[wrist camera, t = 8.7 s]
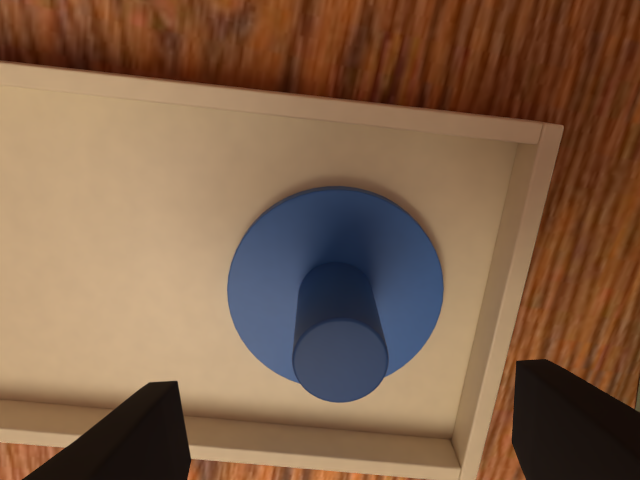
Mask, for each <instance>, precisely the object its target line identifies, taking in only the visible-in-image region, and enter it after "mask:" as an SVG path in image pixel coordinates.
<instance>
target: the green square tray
mask: <svg viewBox="0 0 640 480" xmlns="http://www.w3.org/2000/svg"><path fill="white" fill-rule="evenodd" d="M635 410H637V411H638V412H640V380H639V387H638V394H637V400H636V407H635Z"/></svg>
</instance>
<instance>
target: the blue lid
mask: <svg viewBox="0 0 640 480" xmlns="http://www.w3.org/2000/svg"><path fill="white" fill-rule="evenodd" d="M443 291H444V286H443V274H442V269H441V264H440V261H439V258H438V255H437V253H436V250H435V248H434V246H433V244H432V242H431V241H430V239H429V237H428V236H427V234H426V233H425V232H424V230H423V229H422V228H421V226H420V225H419V223H418V222H417V221H416V220H415V219H414V218H413V217H412V216H411V215H410V214H409V213H408V212H407V211H405V210H404V209H403V208H401V207H400V206H399V205H398V204H396V203H394V202H393V201H391V200H389V199H387V198H386V197H383V196H381V195H379V194H376V193H374V192H371V191H367V190H363V189H360V188H354V187H346V186H325V187H318V188H312V189H308V190H305V191H301V192H298V193H296V194H293V195H291V196H288V197H286V198H284V199H283V200H281V201H279V202H277V203H276V204H274V205H273V206H271V207H270V208H269V209H267V210H266V211H265V212H263V213H262V214H261V215H260V216H259V217H258V218H257V219H256V220H255V221H254V222H253V224H252V225H251V226H250V228H249V229H248V230H247V232H246V233H245V234H244V236H243V238H242V240H241V242H240V243H239V245H238V247H237V249H236V251H235V254H234V257H233V259H232V262H231V266H230V270H229V274H228V284H227V296H228V305H229V310H230V315H231V318H232V320H233V323H234V326H235V328H236V330H237V332H238V334H239V336H240V338H241V339H242V341H243V342H244V344H245V345H246V347H247V348H248V349H249V350H250V352H251V353H252V354H253V355H254V356H255V357H256V358H257V359H258V360H259V361H260V362H261V363H263V364H264V365H265V366H266V367H267V368H269V369H271V370H272V371H274V372H275V373H277V374H278V375H280V376H282V377H284V378H286V379H288V380H291V381H294V382H296V383H299V384H301V385H302V386H303V388H304V389H305V390H306V391H308V392H309V393H310V394H312V395H313V396H315V397H317V398H319V399H322V400H324V401H329V402H335V403H345V402H351V401H355V400H358V399H361V398H363V397H365V396H367V395H368V394H370V393H371V392H372V391H374V390H375V389H376V388H377V387H378V386H379V385H380V383H381V382H382V380H383V378H385V377H387V376H389V375H391V374H392V373H394V372H395V371H397V370H399V369H400V368H402V367H403V366H404V365H405V364H407V363H408V362H409V361H410V360H411V359H413V357H414V356H415V355H416V354H417V353H418V352H419V351H420V350H421V349H422V347H423V346H424V345H425V343H426V342H427V340H428V339H429V337H430V336H431V334H432V332H433V330H434V328H435V326H436V323H437V321H438V318H439V315H440V311H441V307H442V302H443Z"/></svg>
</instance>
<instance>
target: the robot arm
mask: <svg viewBox="0 0 640 480" xmlns="http://www.w3.org/2000/svg"><path fill="white" fill-rule="evenodd" d="M512 444H513V447H514V449H515V452H516V455H517V457H518V460H519V463H520V465H521V468H522V470H523V473H524V475H525V478H526V480H640V412H638V411H637V410H635V409H633V408H631V407H630V406H628V405H626V404H624V403H623V402H621V401H619V400H617V399H616V398H614V397H612V396H610V395H609V394H607V393H605V392H603V391H602V390H600V389H598V388H597V387H595V386H593V385H591V384H590V383H588V382H586V381H585V380H583V379H581V378H580V377H578V376H576V375H574V374H573V373H571V372H569V371H567V370H566V369H564V368H562V367H560V366H558V365H556V364H554V363H552V362H550V361H548V360H546V359H541V360H524V361H516V378H515V395H514V413H513V430H512ZM190 463H191V455H190V450H189V444H188V438H187V433H186V427H185V421H184V415H183V410H182V404H181V398H180V392H179V387H178V381H162V382H149V383H148V384H146V385H145V386H143V387H142V388H140V389H139V390H138V391H137V392H135V393H134V394H133V395H131V396H130V397H129V398H128V399H126V400H125V401H124V402H123V403H121V404H120V405H119V406H118V407H116V408H115V409H114V410H113V411H112V412H110V413H109V414H108V415H107V416H105V417H104V418H103V419H102V420H100V421H99V422H98V423H97V424H95V425H94V426H93V427H92V428H90V429H89V430H88V431H87V432H85V433H84V434H83V435H82V436H80V437H79V438H78V439H77V440H75V441H74V442H73V443H71V444H70V445H69V446H67V447H66V448H65V449H63V450H62V451H60V452H59V453H58V454H56V455H55V456H54V457H52V458H51V459H50V460H48V461H47V462H46V463H44V464H43V465H41V466H40V467H39V468H37V469H36V470H35V471H33V472H32V473H31V474H29V475H28V476H27V477H25V478H24V479H22V480H187V478H188V473H189V468H190Z"/></svg>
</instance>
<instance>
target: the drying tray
mask: <svg viewBox="0 0 640 480" xmlns="http://www.w3.org/2000/svg"><path fill="white" fill-rule="evenodd" d="M563 130H564V126H563V125H559V124H552V123H546V122H540V121H534V120H526V119H517V118H508V117H499V116H490V115H481V114H472V113H464V112H455V111H446V110H437V109H428V108H419V107H410V106H401V105H393V104H384V103H375V102H366V101H357V100H348V99H339V98H331V97H322V96H313V95H304V94H295V93H286V92H277V91H268V90H260V89H251V88H242V87H233V86H224V85H215V84H206V83H198V82H189V81H180V80H171V79H162V78H153V77H144V76H135V75H127V74H118V73H109V72H100V71H91V70H82V69H73V68H65V67H56V66H47V65H38V64H29V63H20V62H11V61H2V60H0V442H5V443H17V444H28V445H40V446H51V447H63V448H66V447H67V446H69V445H70V444H71V443H73V442H74V441H75V440H77V439H78V438H79V437H80V436H82V435H83V434H84V433H85V432H87V431H88V430H89V429H90V428H92V427H93V426H94V425H95V424H97V423H98V422H99V421H100V420H102V419H103V418H104V417H105V416H107V415H108V414H109V413H110V412H112V411H113V410H114V409H115V408H116V407H118V406H119V405H120V404H121V403H123V402H124V401H125V400H126V399H128V398H129V397H130V396H131V395H133V394H134V393H135V392H137V391H138V390H139V389H140V388H142V387H143V386H145V385H146V384H148V383H149V382H162V381H178V387H179V392H180V398H181V404H182V410H183V415H184V421H185V427H186V433H187V438H188V444H189V450H190V455H191V459H201V460H212V461H224V462H235V463H247V464H258V465H270V466H281V467H293V468H304V469H316V470H327V471H339V472H350V473H362V474H373V475H385V476H396V477H408V478H419V479H431V480H476V477H477V473H478V469H479V465H480V461H481V457H482V453H483V449H484V445H485V441H486V437H487V433H488V429H489V425H490V421H491V417H492V413H493V409H494V405H495V401H496V397H497V393H498V389H499V385H500V381H501V377H502V373H503V369H504V365H505V361H506V357H507V354H508V350H509V346H510V342H511V338H512V334H513V330H514V326H515V322H516V318H517V314H518V310H519V306H520V302H521V298H522V294H523V290H524V286H525V282H526V278H527V274H528V270H529V266H530V262H531V258H532V254H533V250H534V246H535V242H536V238H537V234H538V230H539V226H540V222H541V218H542V214H543V210H544V206H545V202H546V198H547V194H548V190H549V186H550V182H551V178H552V174H553V170H554V166H555V162H556V158H557V154H558V150H559V146H560V142H561V138H562V134H563ZM325 186H346V187H354V188H360V189H363V190H367V191H371V192H374V193H376V194H379V195H381V196H383V197H386V198H387V199H389V200H391V201H393V202H394V203H396V204H398V205H399V206H400V207H401V208H403V209H404V210H405V211H407V212H408V213H409V214H410V215H411V216H412V217H413V218H414V219H415V220H416V221H417V222H418V223H419V225H420V226H421V228H422V229H423V230H424V232H425V233H426V234H427V236H428V237H429V239H430V241H431V242H432V244H433V246H434V248H435V250H436V253H437V255H438V258H439V261H440V264H441V269H442V274H443V286H444V291H443V302H442V307H441V311H440V315H439V318H438V321H437V323H436V326H435V328H434V330H433V332H432V334H431V336H430V337H429V339H428V340H427V342H426V343H425V345H424V346H423V347H422V349H421V350H420V351H419V352H418V353H417V354H416V355H415V356H414V357H413V359H411V360H410V361H409V362H408V363H407V364H405V365H404V366H403V367H402V368H400V369H399V370H397V371H395V372H394V373H392V374H391V375H389V376H387V377H385V378H383V380H382V382H381V383H380V385H379V386H378V387H377V388H376V389H375V390H374V391H372V392H371V393H370V394H368V395H367V396H365V397H363V398H361V399H358V400H355V401H351V402H345V403H335V402H329V401H324V400H322V399H319V398H317V397H315V396H313V395H312V394H310V393H309V392H308V391H306V390H305V389H304V388H303V386H302V385H301V384H299V383H296V382H294V381H291V380H288V379H286V378H284V377H282V376H280V375H278V374H277V373H275V372H274V371H272V370H271V369H269V368H267V367H266V366H265V365H264V364H263V363H261V362H260V361H259V360H258V359H257V358H256V357H255V356H254V355H253V354H252V353H251V352H250V350H249V349H248V348H247V347H246V345H245V344H244V342H243V341H242V339H241V338H240V336H239V334H238V332H237V330H236V328H235V326H234V323H233V320H232V318H231V315H230V310H229V305H228V296H227V284H228V274H229V270H230V266H231V262H232V259H233V257H234V254H235V251H236V249H237V247H238V245H239V243H240V242H241V240H242V238H243V236H244V234H245V233H246V232H247V230H248V229H249V228H250V226H251V225H252V224H253V222H254V221H255V220H256V219H257V218H258V217H259V216H260V215H261V214H262V213H263V212H265V211H266V210H267V209H269V208H270V207H271V206H273V205H274V204H276V203H277V202H279V201H281V200H283V199H284V198H286V197H288V196H291V195H293V194H296V193H298V192H301V191H305V190H308V189H312V188H318V187H325Z"/></svg>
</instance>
